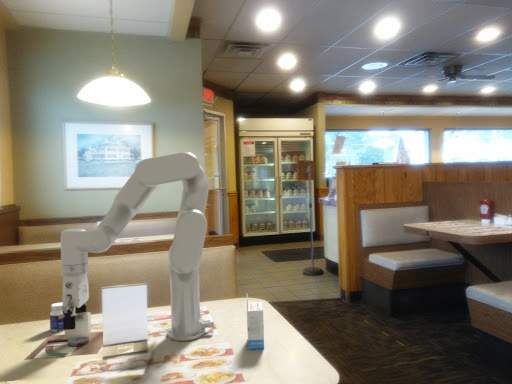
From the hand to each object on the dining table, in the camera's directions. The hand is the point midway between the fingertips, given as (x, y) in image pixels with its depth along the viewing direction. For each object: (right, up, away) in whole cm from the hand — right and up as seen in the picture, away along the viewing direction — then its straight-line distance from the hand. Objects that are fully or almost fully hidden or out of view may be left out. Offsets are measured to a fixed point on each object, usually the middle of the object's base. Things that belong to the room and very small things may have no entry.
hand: (75, 323), depth 115 cm
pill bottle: (-12, -8, +13) cm, 19 cm away
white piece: (-2, -6, 0) cm, 7 cm away
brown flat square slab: (-1, -8, 0) cm, 8 cm away
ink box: (+56, -6, -1) cm, 57 cm away
